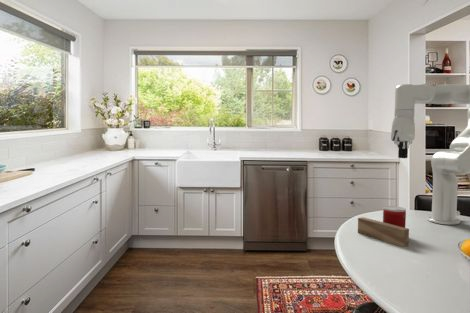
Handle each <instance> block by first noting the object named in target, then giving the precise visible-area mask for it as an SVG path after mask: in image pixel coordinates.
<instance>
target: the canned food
mask: <svg viewBox="0 0 470 313" xmlns="http://www.w3.org/2000/svg"><path fill="white" fill-rule="evenodd" d="M382 210H383V211H382V215H383V216H382V222H384V223H388V224H392V225H396V226H400V227H403V228H406V222H407V221H406V220H407V219H406V218H407V216H406V215H407V213H406V212H407V210H406V208H405V207H403V206H397V205H387V206H383V209H382Z"/></svg>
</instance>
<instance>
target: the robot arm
mask: <svg viewBox="0 0 470 313" xmlns="http://www.w3.org/2000/svg"><path fill="white" fill-rule="evenodd" d="M415 104H417V105H420V104H421V105H423V104H424V105H425V104H426V105H427V104H428V105H429V104H433V105H470V84H462V83H461V84H459V83H458V84H454V83H453V84H451V83H444V84H438V85H432V84H430V83H422V84H409V83H405V84H398V85H397V86H396V87H395V91H394V116H393V119H392V123H391V133H390V141H392V142H393V143H394V145H396V147H397V149H398V153H397V156H398V158H399V159H408V158H409V157H408V156H409V154H408V151H409V147H410V146H411V145H412V144H413V141H414V140H415V136H416V129H415V128H416V127H415V125H416V124H415V106H416V105H415ZM466 114H467V125H466V127H465V129H464V130H463V131H462V132H460V133H459V134H458V135H457V136H456V137H455V138H454V139H453V140H452V141H451V143H450V145H449V150H439V151H436V152H435V153H434V154H433V155H432V157H431V160H430V164H431V165H430V166H431V168H432V169H431V170H432V196H431V197H432V198H431V199H432V201H431V202H432V203H431V215H429V216H427V220H428V221H429V222H432V223H435V224H441V225H447V226H449V225H450V226H452V225H460V224H461V220H460V218H457V216H460V215H461V212H460V210H457V208H458V207H457V206H458V205H457V204H458V186H459V185H458V184H459V183H458V179H457V175H464V176H465V175H469V174H470V107H469V108H468V109H467V112H466Z"/></svg>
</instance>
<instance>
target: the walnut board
mask: <svg viewBox="0 0 470 313" xmlns="http://www.w3.org/2000/svg"><path fill="white" fill-rule="evenodd" d="M357 233H358V234H361V235H362V236H363V235H364V236H367V237H370V238H374V239H377V240H380V241H383V242H386V243H389V244H393V245H396V246H400V247H404V246H405V247H408V246H409V241H410V240H409V239H410V237H409V236H410V229H409V228H406V227H405V228H403V227H400V226H396V225H392V224H388V223H384V222H383V221H380V220H376V219H372V218H368V217H364V216H363V217H362V216H361V217H358V218H357Z"/></svg>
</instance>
